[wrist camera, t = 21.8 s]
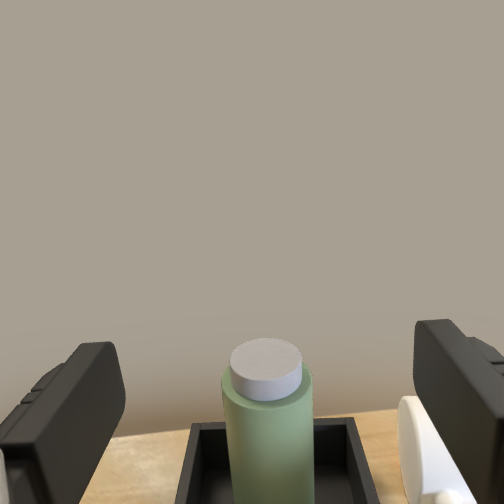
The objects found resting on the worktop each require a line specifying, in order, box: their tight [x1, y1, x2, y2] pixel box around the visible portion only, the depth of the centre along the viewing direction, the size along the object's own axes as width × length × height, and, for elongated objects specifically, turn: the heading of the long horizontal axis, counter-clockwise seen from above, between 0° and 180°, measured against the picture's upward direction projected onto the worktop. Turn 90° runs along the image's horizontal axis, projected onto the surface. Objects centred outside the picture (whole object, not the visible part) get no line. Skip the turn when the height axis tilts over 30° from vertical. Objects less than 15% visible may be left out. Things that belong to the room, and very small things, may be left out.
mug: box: [397, 396, 477, 504], centre depth 28 cm, size 12×10×8 cm
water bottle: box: [221, 338, 314, 504], centre depth 25 cm, size 5×5×15 cm
